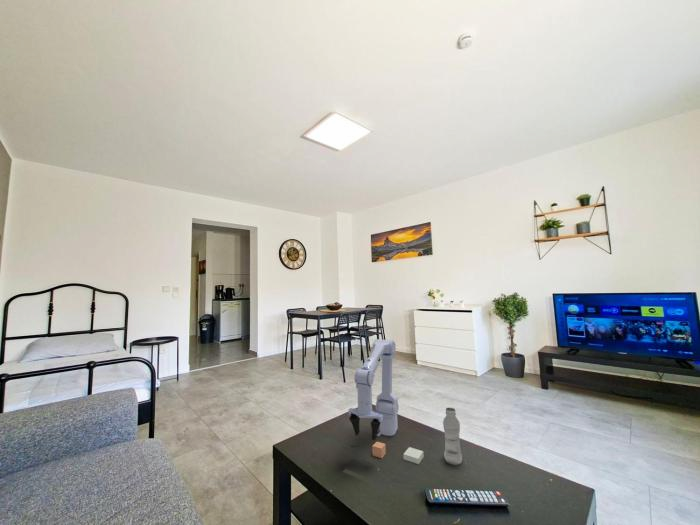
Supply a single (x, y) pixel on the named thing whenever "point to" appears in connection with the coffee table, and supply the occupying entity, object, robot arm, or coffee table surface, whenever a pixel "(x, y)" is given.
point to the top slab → (413, 455)
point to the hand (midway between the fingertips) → (365, 436)
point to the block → (379, 449)
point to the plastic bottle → (452, 438)
